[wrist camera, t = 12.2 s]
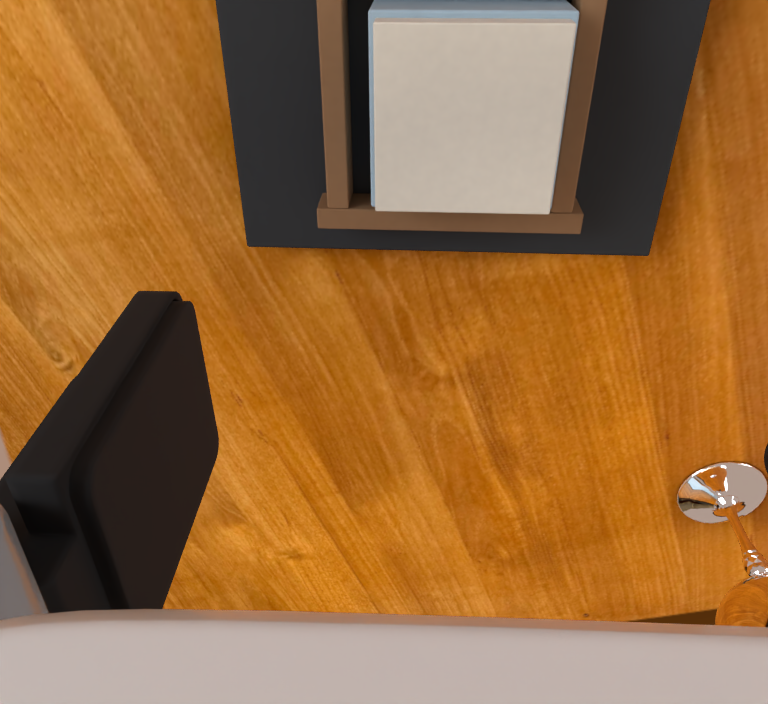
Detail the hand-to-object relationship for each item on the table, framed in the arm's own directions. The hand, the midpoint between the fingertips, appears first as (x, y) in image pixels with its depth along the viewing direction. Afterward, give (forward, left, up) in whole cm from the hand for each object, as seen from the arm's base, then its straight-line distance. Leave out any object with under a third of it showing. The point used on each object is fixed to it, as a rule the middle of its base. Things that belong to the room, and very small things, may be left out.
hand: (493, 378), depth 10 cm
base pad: (0, 0, -17) cm, 17 cm away
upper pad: (0, 0, -16) cm, 16 cm away
